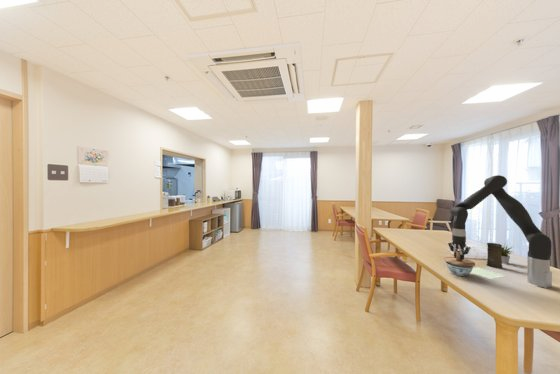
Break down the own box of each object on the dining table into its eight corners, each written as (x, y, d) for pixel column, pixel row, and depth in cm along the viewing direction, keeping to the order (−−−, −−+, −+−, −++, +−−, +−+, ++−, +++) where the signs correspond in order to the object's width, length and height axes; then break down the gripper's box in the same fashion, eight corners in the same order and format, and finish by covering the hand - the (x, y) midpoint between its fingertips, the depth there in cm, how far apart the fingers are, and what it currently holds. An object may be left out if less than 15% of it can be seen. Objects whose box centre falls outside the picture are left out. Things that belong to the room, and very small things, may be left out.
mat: (506, 276, 149) (506, 276, 149) (490, 280, 144) (490, 279, 144) (477, 267, 165) (477, 267, 165) (462, 270, 160) (462, 269, 160)
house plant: (486, 260, 181) (486, 241, 181) (494, 258, 186) (493, 239, 186) (509, 266, 168) (509, 245, 168) (517, 263, 174) (517, 243, 173)
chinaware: (478, 280, 144) (478, 268, 144) (453, 278, 147) (453, 267, 147) (464, 271, 159) (464, 261, 159) (441, 269, 162) (441, 259, 162)
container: (504, 270, 161) (504, 246, 161) (487, 267, 166) (487, 244, 166) (501, 266, 168) (501, 243, 168) (485, 264, 173) (485, 242, 173)
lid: (481, 265, 147) (481, 253, 147) (463, 267, 142) (463, 256, 142) (454, 257, 164) (454, 246, 164) (438, 259, 159) (438, 248, 159)
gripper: (473, 236, 147) (474, 261, 147) (452, 232, 161) (452, 255, 161) (466, 237, 145) (466, 262, 145) (445, 233, 159) (445, 256, 159)
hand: (458, 258), depth 153 cm, fingers closed on lid, 3 cm apart
